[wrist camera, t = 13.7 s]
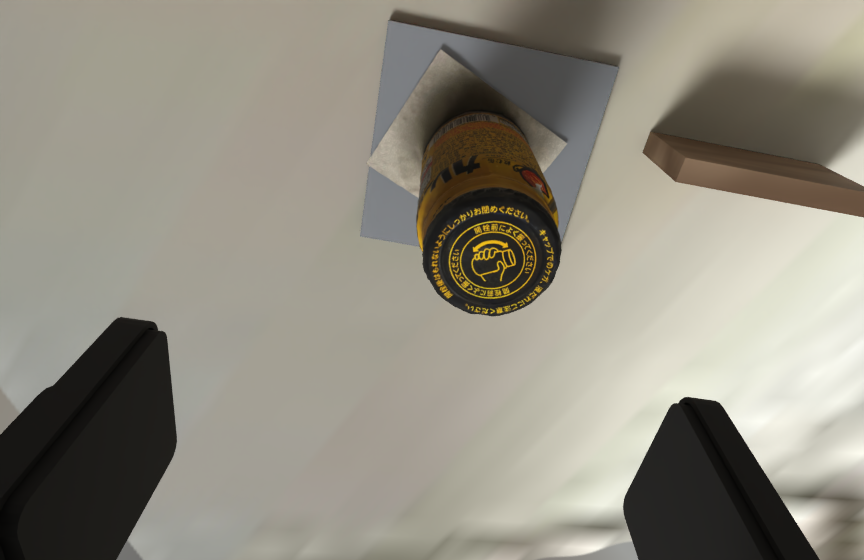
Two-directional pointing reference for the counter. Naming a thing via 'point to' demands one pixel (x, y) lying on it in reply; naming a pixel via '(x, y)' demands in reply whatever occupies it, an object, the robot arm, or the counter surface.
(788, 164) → the brown angular block
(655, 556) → the robot arm
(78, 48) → the counter surface
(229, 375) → the counter surface
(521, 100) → the mat
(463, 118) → the condiment
